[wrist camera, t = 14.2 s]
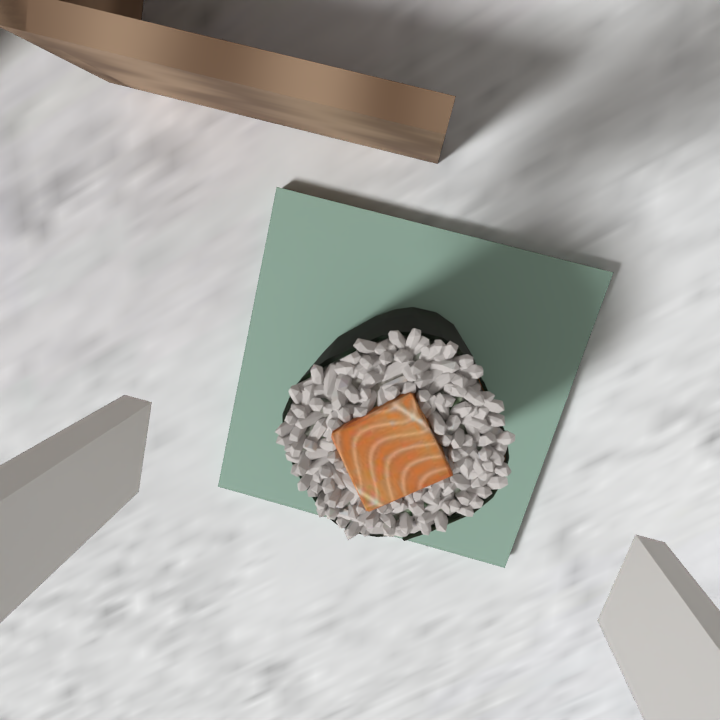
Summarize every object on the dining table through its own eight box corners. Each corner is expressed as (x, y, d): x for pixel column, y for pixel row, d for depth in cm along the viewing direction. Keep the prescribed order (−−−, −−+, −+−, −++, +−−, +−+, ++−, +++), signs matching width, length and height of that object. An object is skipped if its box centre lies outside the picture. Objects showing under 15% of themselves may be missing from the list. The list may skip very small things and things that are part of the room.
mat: (281, 188, 25) (276, 187, 24) (607, 271, 24) (613, 272, 24) (223, 479, 29) (217, 486, 28) (502, 558, 28) (504, 567, 28)
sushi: (512, 422, 26) (552, 502, 18) (364, 488, 27) (343, 586, 20) (440, 277, 24) (450, 295, 17) (289, 354, 26) (235, 403, 18)
